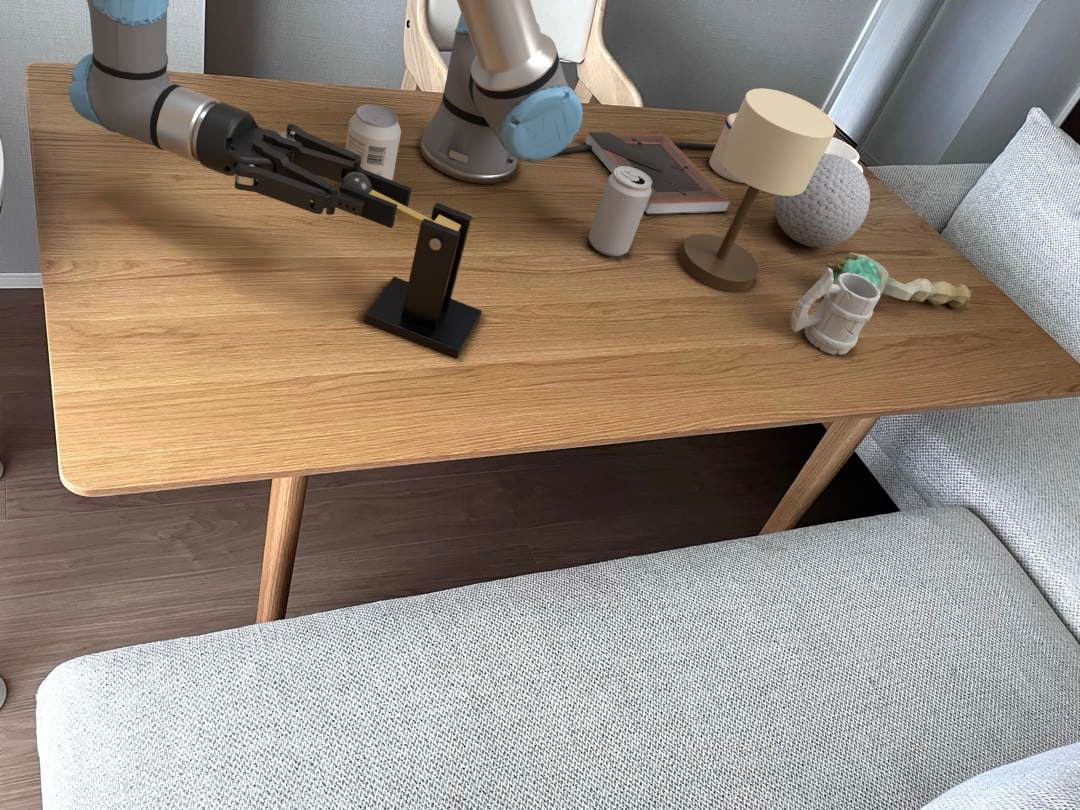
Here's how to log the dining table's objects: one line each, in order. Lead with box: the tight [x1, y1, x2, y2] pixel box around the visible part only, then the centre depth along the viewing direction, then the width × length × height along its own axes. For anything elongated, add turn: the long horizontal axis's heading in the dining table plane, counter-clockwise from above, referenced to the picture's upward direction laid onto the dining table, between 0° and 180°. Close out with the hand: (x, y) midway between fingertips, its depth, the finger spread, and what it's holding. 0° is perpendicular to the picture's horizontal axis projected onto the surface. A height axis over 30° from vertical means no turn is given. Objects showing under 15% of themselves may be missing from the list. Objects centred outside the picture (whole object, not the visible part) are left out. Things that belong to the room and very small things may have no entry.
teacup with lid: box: [708, 112, 745, 184], centre depth 164 cm, size 12×9×12 cm
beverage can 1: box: [345, 104, 402, 181], centre depth 125 cm, size 7×7×12 cm
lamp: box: [679, 87, 837, 293], centre depth 132 cm, size 13×13×26 cm
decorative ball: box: [773, 154, 871, 248], centre depth 150 cm, size 15×15×15 cm
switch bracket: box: [363, 202, 483, 359], centre depth 107 cm, size 12×9×15 cm
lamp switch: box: [339, 172, 461, 232], centre depth 103 cm, size 14×4×4 cm, turn 75°
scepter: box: [826, 252, 973, 308], centre depth 146 cm, size 9×8×30 cm
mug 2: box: [790, 266, 881, 356], centre depth 129 cm, size 8×12×12 cm, turn 102°
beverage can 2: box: [588, 166, 652, 257], centre depth 132 cm, size 6×6×12 cm
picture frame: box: [584, 131, 731, 215], centre depth 156 cm, size 16×2×22 cm
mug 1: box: [824, 136, 864, 174], centre depth 164 cm, size 11×9×10 cm
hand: (401, 207), depth 103 cm, fingers closed on lamp switch, 4 cm apart
